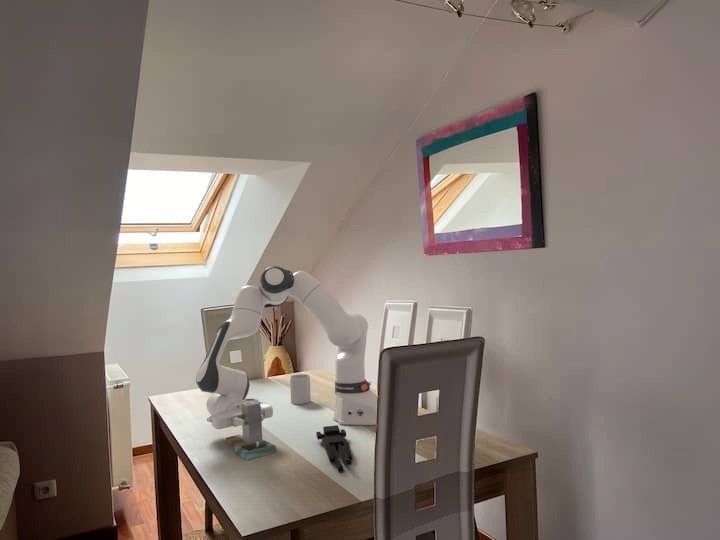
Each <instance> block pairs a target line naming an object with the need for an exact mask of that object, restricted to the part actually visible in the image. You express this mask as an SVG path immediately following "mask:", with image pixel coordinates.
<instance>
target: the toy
mask: <svg viewBox="0 0 720 540" xmlns="http://www.w3.org/2000/svg"><path fill="white" fill-rule="evenodd" d="M322 428H323V433H321V431H316V435H315V436H316V438H317V440H321V443H322V445H323V447H324V449H325V452H326V454H327V457H328V459H329V462H330V463H334V466H335V467H336V470H337V471H338V472H344V466H343V464H342V463H344V464H345V465H346V466H351V465H352V461H353V453H352V450H351V446H350V443H349V441H348V440H347V439H346V437H347V432H346V430H345V429H343V428H342V429H340V427H339V426H338V425H327V426H322ZM337 451H338V452H337ZM338 453H339V455H340V458H341V461H342V463H341V461H340V458H339V456H338Z"/></svg>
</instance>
